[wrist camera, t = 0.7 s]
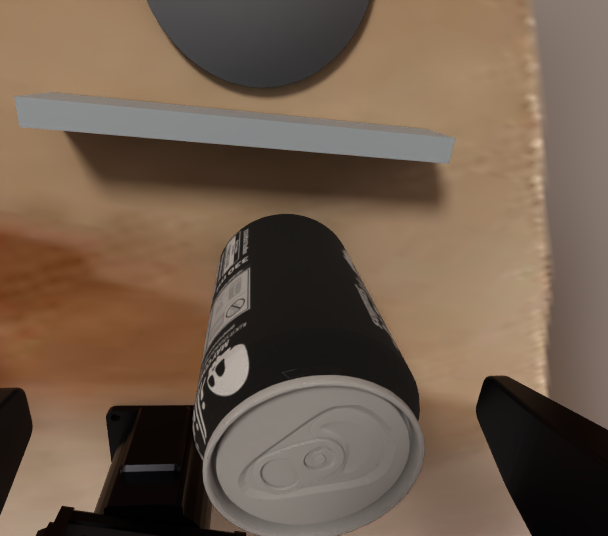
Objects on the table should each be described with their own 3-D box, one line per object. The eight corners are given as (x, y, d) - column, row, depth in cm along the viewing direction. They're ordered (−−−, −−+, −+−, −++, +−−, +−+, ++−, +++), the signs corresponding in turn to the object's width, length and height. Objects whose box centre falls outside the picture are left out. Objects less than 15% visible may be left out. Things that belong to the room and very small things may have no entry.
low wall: (421, 151, 20) (448, 163, 17) (55, 118, 17) (19, 126, 15) (426, 128, 19) (455, 138, 17) (52, 92, 17) (14, 96, 14)
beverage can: (362, 296, 23) (464, 501, 12) (252, 341, 23) (253, 578, 12) (320, 187, 20) (403, 324, 9) (194, 240, 20) (130, 432, 9)
